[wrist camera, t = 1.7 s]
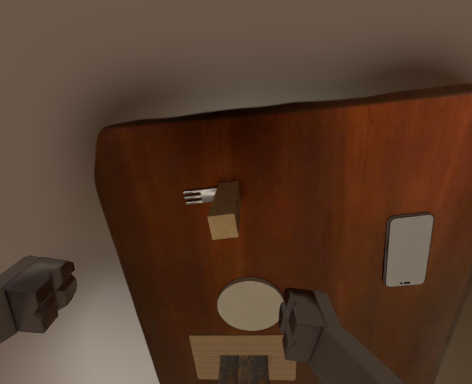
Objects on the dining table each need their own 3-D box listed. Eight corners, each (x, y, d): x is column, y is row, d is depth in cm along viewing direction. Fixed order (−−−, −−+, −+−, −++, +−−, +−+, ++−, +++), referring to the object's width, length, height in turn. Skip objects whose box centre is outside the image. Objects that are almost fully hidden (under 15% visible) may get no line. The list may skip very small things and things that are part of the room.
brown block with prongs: (238, 180, 40) (234, 213, 29) (241, 198, 41) (238, 237, 30) (182, 188, 41) (158, 222, 30) (187, 205, 42) (165, 245, 31)
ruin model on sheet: (198, 379, 61) (189, 427, 52) (188, 335, 55) (177, 382, 46) (295, 380, 59) (303, 431, 50) (297, 335, 53) (307, 384, 44)
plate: (212, 280, 48) (211, 284, 47) (280, 273, 47) (281, 278, 46) (224, 327, 53) (223, 332, 52) (286, 323, 52) (287, 328, 51)
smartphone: (435, 213, 39) (425, 284, 44) (430, 210, 40) (421, 280, 46) (389, 218, 40) (384, 287, 45) (385, 215, 41) (381, 283, 46)
